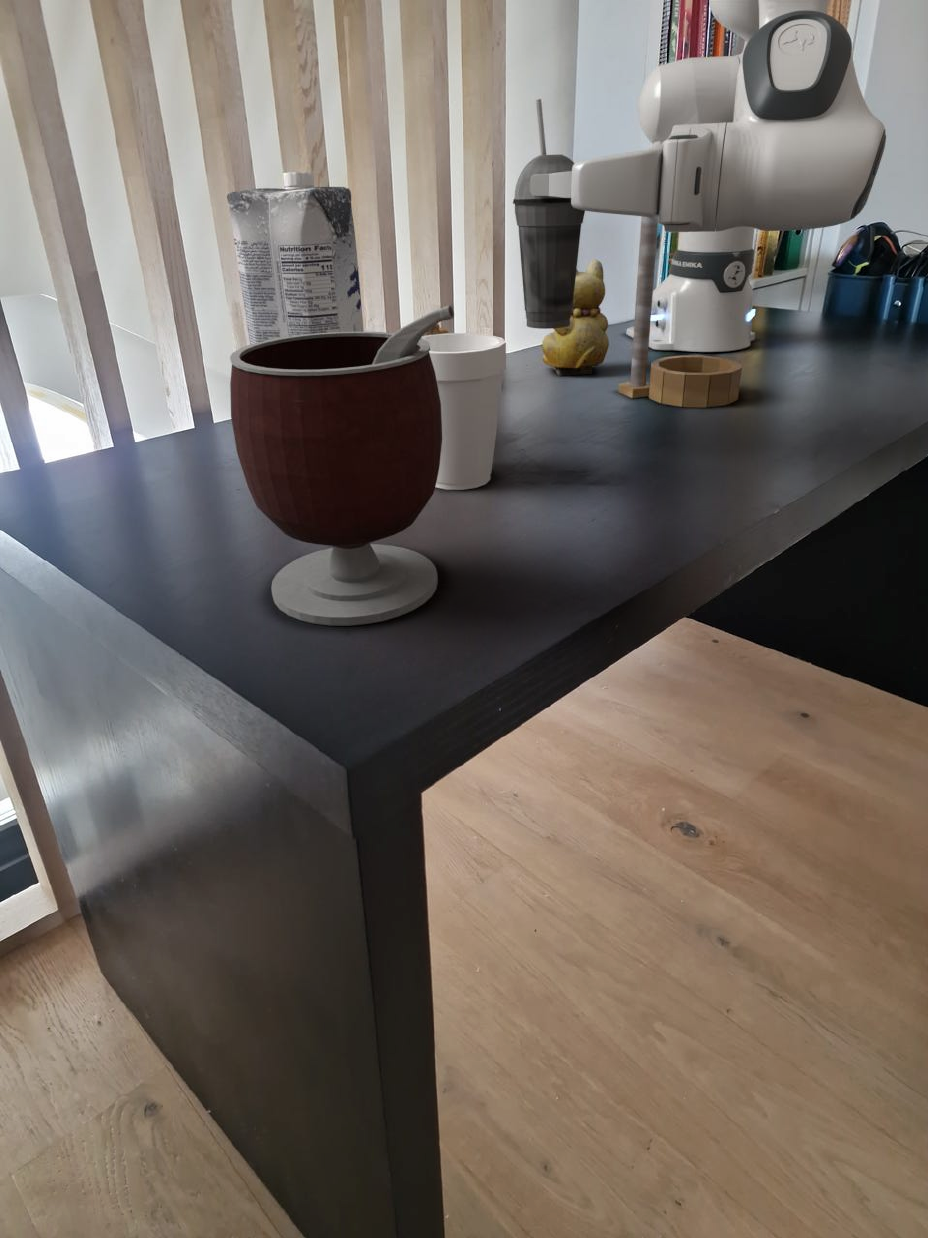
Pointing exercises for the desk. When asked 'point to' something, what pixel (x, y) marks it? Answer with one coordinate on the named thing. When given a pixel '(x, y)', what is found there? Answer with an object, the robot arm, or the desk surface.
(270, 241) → the juice carton
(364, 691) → the desk surface
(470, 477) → the foam cup
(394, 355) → the mate gourd
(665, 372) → the holder
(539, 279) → the beverage cup
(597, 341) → the decorative figurine
